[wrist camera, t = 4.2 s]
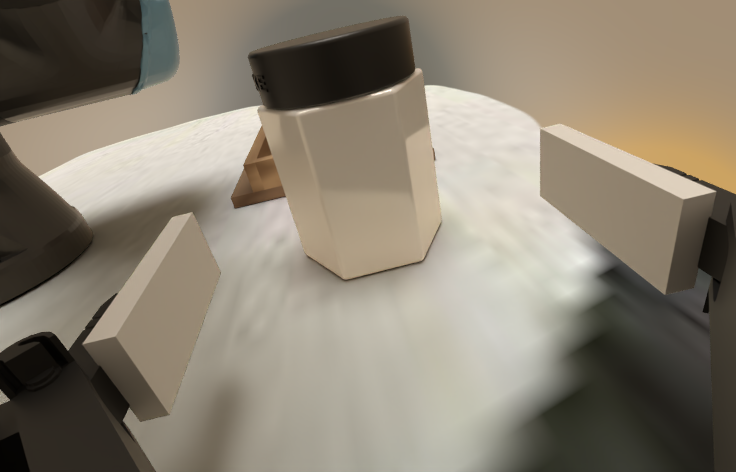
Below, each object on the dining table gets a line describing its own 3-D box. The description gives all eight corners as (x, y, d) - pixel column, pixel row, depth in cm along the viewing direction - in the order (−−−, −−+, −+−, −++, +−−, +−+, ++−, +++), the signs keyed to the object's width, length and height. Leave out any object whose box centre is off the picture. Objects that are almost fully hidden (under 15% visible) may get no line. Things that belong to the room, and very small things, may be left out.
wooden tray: (234, 208, 36) (219, 170, 34) (255, 156, 49) (245, 127, 47) (435, 159, 36) (430, 120, 34) (402, 121, 49) (397, 91, 47)
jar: (346, 206, 31) (301, 35, 25) (452, 205, 28) (429, 7, 22) (284, 277, 24) (204, 64, 19) (414, 287, 21) (366, 31, 15)
